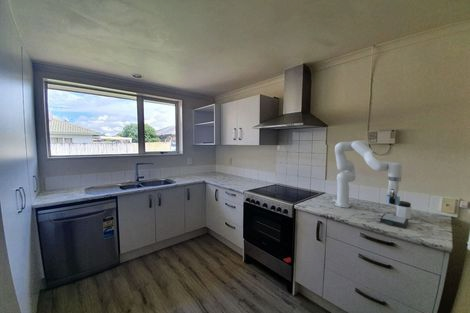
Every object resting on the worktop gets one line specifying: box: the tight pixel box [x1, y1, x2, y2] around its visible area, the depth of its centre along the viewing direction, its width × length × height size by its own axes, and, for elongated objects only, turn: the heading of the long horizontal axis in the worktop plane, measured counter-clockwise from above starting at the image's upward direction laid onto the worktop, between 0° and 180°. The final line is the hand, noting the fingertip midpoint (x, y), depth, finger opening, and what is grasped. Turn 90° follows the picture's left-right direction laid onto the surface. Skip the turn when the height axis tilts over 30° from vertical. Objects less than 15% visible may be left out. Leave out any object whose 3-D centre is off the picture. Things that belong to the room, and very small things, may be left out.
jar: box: [395, 200, 412, 220], centre depth 148 cm, size 9×8×12 cm
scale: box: [379, 213, 409, 229], centre depth 138 cm, size 14×16×4 cm
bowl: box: [386, 194, 401, 206], centre depth 138 cm, size 7×7×6 cm
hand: (392, 202), depth 138 cm, fingers closed on bowl, 7 cm apart
